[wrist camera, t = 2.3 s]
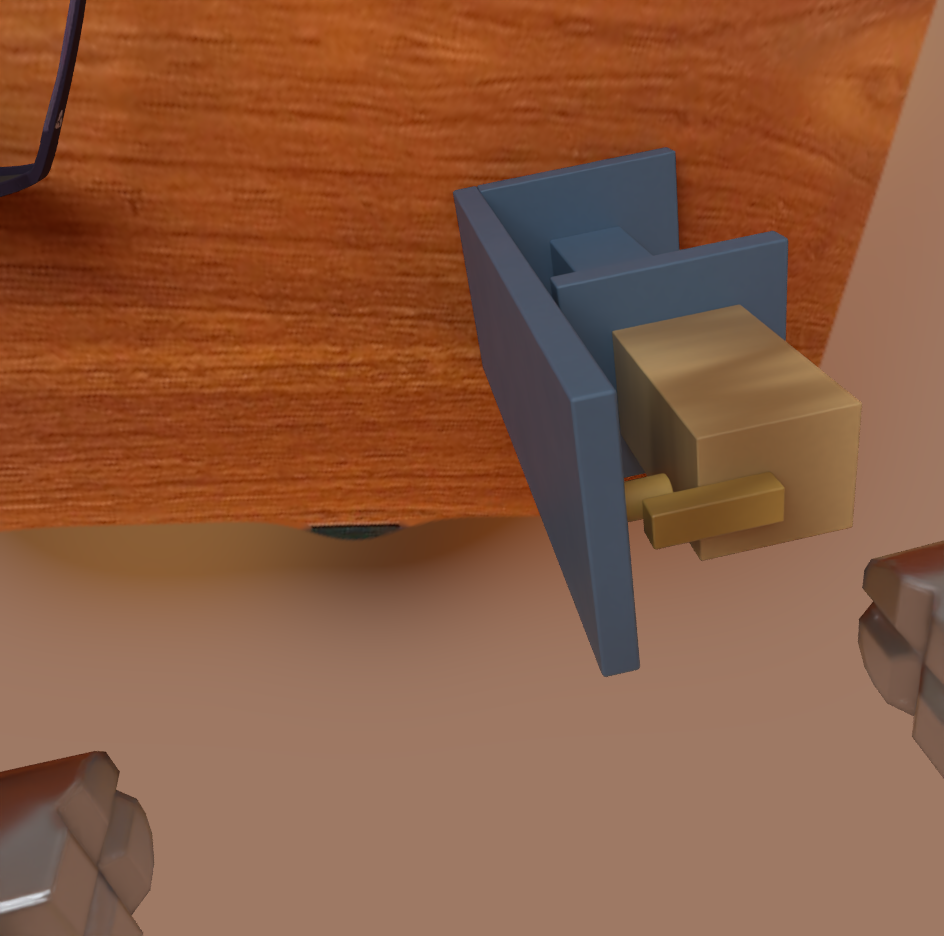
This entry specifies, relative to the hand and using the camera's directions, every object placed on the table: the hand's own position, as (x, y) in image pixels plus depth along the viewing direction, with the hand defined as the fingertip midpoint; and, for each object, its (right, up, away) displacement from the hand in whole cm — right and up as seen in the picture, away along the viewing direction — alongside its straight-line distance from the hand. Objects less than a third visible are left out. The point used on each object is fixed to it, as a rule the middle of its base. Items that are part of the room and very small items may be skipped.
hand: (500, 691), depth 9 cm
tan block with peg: (+6, +5, +18) cm, 20 cm away
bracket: (+4, +11, +28) cm, 31 cm away
